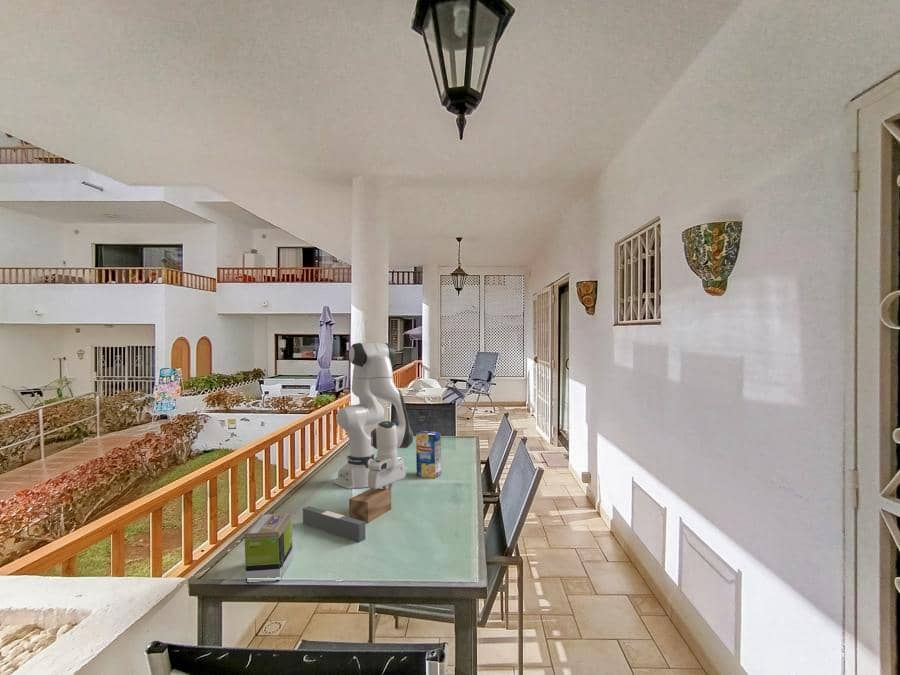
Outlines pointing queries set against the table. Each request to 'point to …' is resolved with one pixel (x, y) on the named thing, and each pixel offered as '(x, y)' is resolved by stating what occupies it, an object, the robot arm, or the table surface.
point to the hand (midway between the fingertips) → (388, 494)
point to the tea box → (268, 546)
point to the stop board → (334, 523)
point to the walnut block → (370, 504)
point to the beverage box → (428, 454)
